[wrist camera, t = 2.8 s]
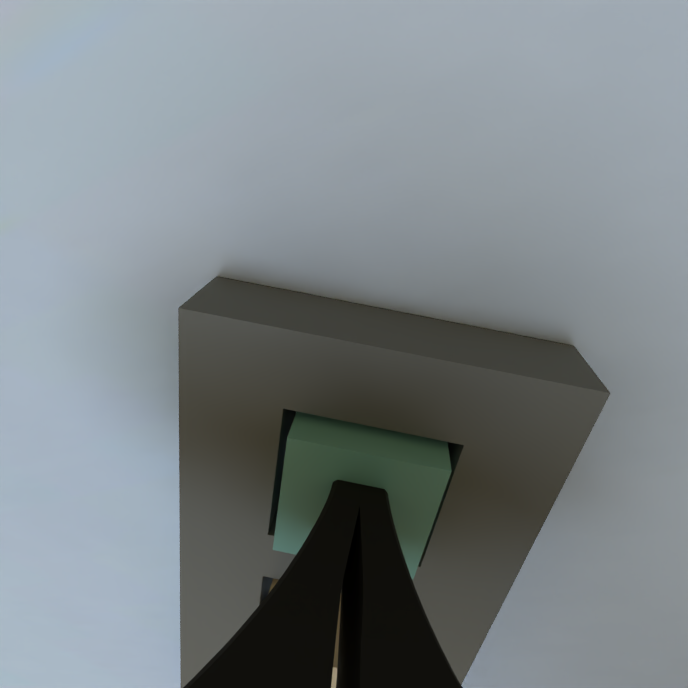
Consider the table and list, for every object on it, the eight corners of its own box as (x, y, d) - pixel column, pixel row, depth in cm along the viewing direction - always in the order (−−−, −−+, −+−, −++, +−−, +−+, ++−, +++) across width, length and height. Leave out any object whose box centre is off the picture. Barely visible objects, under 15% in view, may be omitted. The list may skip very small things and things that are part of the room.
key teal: (411, 508, 15) (413, 579, 13) (292, 483, 15) (272, 549, 13) (443, 409, 13) (451, 471, 11) (307, 382, 13) (286, 437, 11)
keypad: (400, 738, 22) (399, 804, 20) (202, 694, 22) (181, 754, 20) (573, 346, 12) (610, 393, 10) (216, 276, 13) (178, 308, 10)
